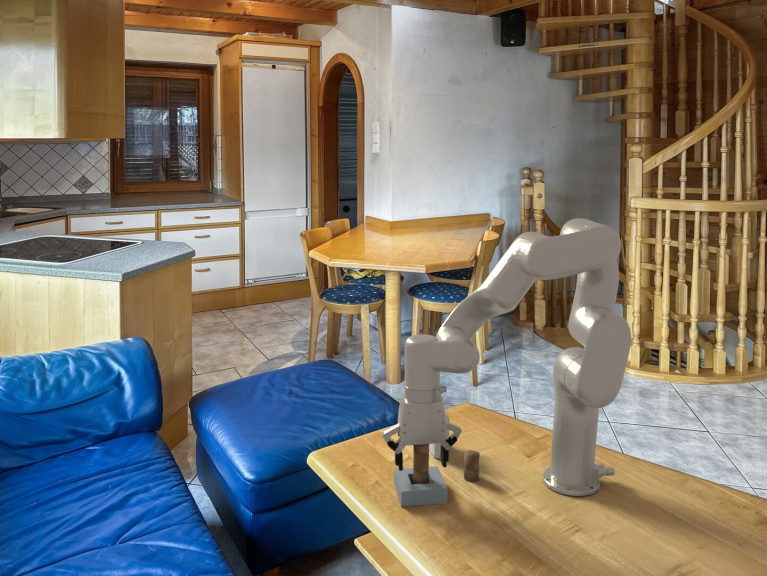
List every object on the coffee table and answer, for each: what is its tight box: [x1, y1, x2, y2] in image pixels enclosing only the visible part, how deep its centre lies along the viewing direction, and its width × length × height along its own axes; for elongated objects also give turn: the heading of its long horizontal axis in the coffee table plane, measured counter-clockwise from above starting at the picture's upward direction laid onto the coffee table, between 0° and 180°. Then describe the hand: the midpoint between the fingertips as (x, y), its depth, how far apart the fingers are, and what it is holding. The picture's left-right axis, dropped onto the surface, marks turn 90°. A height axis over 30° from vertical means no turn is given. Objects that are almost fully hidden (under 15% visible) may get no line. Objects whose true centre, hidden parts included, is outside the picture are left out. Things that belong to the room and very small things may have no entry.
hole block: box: [393, 465, 448, 507], centre depth 150 cm, size 10×10×4 cm
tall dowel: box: [412, 444, 430, 485], centre depth 149 cm, size 3×3×12 cm
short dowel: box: [463, 449, 481, 482], centre depth 157 cm, size 3×3×6 cm
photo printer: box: [429, 407, 450, 459], centre depth 170 cm, size 10×4×12 cm, turn 12°
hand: (421, 466), depth 149 cm, fingers open, 9 cm apart
